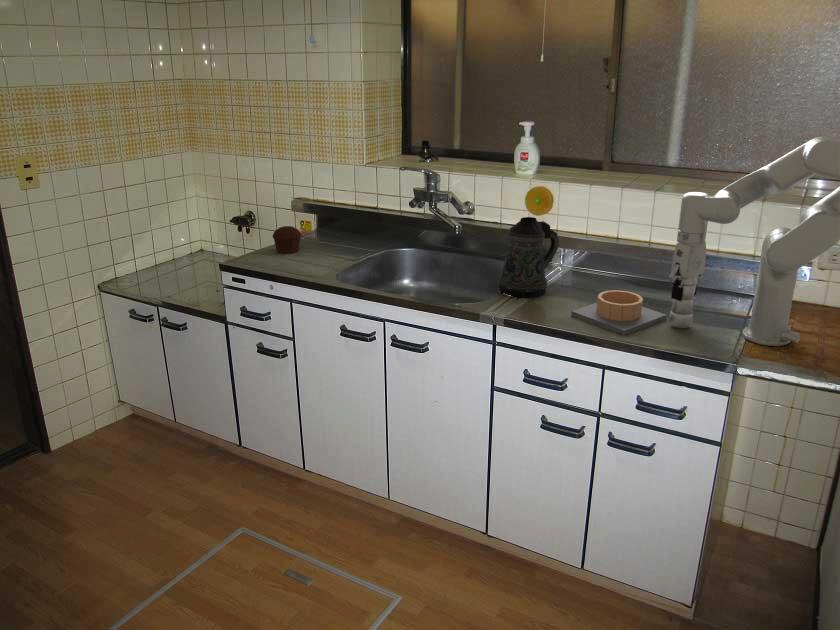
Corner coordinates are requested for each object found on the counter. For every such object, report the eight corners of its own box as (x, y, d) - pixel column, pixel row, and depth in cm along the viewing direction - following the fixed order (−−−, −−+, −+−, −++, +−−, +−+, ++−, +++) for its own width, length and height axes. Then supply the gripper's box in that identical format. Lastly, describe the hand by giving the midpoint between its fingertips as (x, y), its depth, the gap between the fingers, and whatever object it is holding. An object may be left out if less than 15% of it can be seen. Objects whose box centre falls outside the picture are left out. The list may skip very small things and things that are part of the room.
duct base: (666, 319, 216) (668, 299, 214) (624, 335, 205) (626, 314, 203) (613, 301, 231) (614, 282, 229) (571, 315, 220) (572, 295, 217)
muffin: (270, 255, 285) (268, 230, 281) (276, 247, 295) (274, 223, 291) (300, 255, 284) (298, 230, 281) (305, 247, 295) (303, 223, 291)
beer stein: (488, 291, 242) (489, 219, 232) (522, 277, 254) (526, 209, 245) (527, 302, 231) (531, 227, 222) (561, 288, 243) (566, 216, 234)
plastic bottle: (693, 331, 207) (702, 265, 200) (669, 330, 208) (677, 264, 201) (690, 323, 213) (698, 259, 206) (666, 322, 214) (674, 258, 207)
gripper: (685, 245, 193) (677, 307, 199) (720, 234, 203) (712, 293, 209) (661, 239, 198) (654, 299, 205) (697, 229, 208) (689, 287, 215)
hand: (683, 296), depth 207 cm, fingers closed on plastic bottle, 6 cm apart
